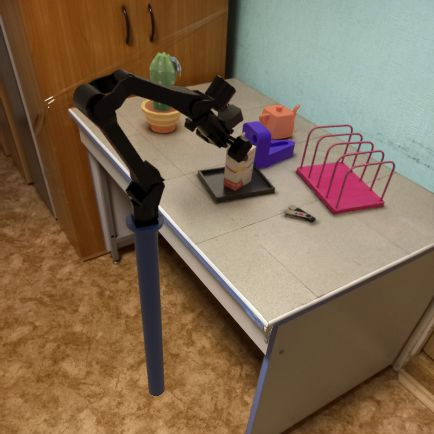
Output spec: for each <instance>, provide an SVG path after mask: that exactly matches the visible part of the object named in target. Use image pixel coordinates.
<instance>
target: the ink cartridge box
mask: <svg viewBox="0 0 434 434" xmlns="http://www.w3.org/2000/svg"><path fill="white" fill-rule="evenodd" d="M238 136H243V137H245V132H244V133H242V132H241V134H238V135H236V136H233V137H234V138H237V137H238ZM232 142H233V141H232ZM229 148H230V145H228V147H227V148H226V153H225V163H224V164H225V165H224V167H225V173H224V184H223V185H224V186H226V187H228V188H230V189H232V190H234V191H236V190H238V189H239V188H241V187H243V186H244V185H246V184H247V183H249V182H250V181H251V176H252V170H253V163H254V157H255V151H256V146H254V145H252V148H251V149H250V150H249V152H248V153H247V154H248V158H249V159H248V160H247V161H241V162H240V163H238V162H236V161H234V160H233V159H232V158H230V157H229V156H228V155H227V152H228V149H229Z"/></svg>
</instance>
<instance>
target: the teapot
mask: <svg viewBox="0 0 434 434" xmlns="http://www.w3.org/2000/svg"><path fill="white" fill-rule="evenodd" d="M301 107H302V104H297V105H295V106H294V107H293V109H292V110H291V109H289V108H288V107H286V106H284V105H283V104H273V105H267V106H264V107H263V109H262V111H261V114H259V116H258V121H259V122H260V123H261V124H262V125H263V126H265V127H266V128H267V129H268V130H269V131H270V133H271V140H283V139H286V138H290V137H292V136H293V134H294V132H295V131H294V130H295V119H296V115H297V111H298V110H299V108H301Z"/></svg>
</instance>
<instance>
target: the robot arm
mask: <svg viewBox="0 0 434 434" xmlns="http://www.w3.org/2000/svg"><path fill="white" fill-rule="evenodd" d="M236 93H237V90H236V88H235V87H234V86H233V85H231V84H230V83H229V82H228V81H226V80H225V79H224V77H223V76H221V75H219V74H216V75H214V77H213V79H212V82H211V83H210V84H209V86H208V87H207V88H206V90H205V92H203V91H201V90H199V89H190V88H188V87H186V86H180V85H174V86H171V87H170V86H165V85H162V84H160V83H157V82H154V81H151V80H150V78H146V77H143V76H141V75H137V74H135V73H132V72H130V71H128V70H126V69H124V68H118V69H115V70H113V71H112V72H110V73H108V74H105V75H102V76H99V77H96V78H93V79H92V80H90V81H88V82H87V83H81V84H80V85H78V86H77V87H75V89H74V91H73V94H72V103H73V105H74V107H75V108H76V109H77V110H78V111H79V112H80V113H81V114H82V115H83V116H84V117H85V118H87V119H88V120H89V121H90V122H91V123H92V124H93V125H95V127H97V128H98V130H100V132H101V134H102V135H103V136H104V137H105V139H106V140H107V142H108V143H109V145H110V146H111V147H112V149H113V151H115V153H116V154H117V155H118V157H119V159H120V160H121V161H122V162H123V164H124V165H125V167H126V168H127V170H128V171H129V172H128V173H129V178H130V179H131V181H130V183H129V184H128V185H127V187H126V188H125V194H126V195H127V197H129V198H130V209H131V212H132V213H131V218H132V220H133V222H134V225H135V227H136V228H140V227H146V226H151V225H157V224H159V221H158V218H159V213H160V211H159V209H160V208H159V206H160V204H161V200H162V197H163V194H164V191H165V188H166V184H165V181H166V179H165V178H164V177H163V176H162V175H161V172H160V170H159V169H158V168H157V167H155V165H153V164H152V163H151V162H149V161H148V160H147V159H144V160H143V159H142V157H141V155H140V154H139V153H138V151H137V150H136V148H135V147H134V145H133V144H132V142H131V140H130V139H129V137H128V136H127V134H126V132H124V130H123V129H122V127H121V125H120V124H119V122H118V115H117V111H118V110H119V109H120V108H121V107H122V106H123V104H124V103H125V102H126V101H127V99H128V98H129V97H130V96H131V95H133V96H136V97H139V98H142V99H145V100H147V99H148V100H151V101H155V102H158V103H161V104H164V105H167V106H170V107H172V108H173V109H175V110H177V111H178V112H180V113H182V114H181V115H184V116H185V119H184V125H183V127H184V128H185V129H187V130H188V131H189V132H191V133H194V132H195V135H196V136H197V137H198V138H199V139H201V140H202V141H204V142H206V143H207V144H210V145H213V146H215V147H217V148H218V149H221V148H223V149H227V147H228V145H230V148H229V149H228V152H227V151H226V152H227V155H228V156H229V157H230V158H232V159H233V160H234V161H236V162H238V163H240V162H241V161H247V160H248V159H249V158H248V154H247V153H248V152H249V150H250V149H251V148H252V143H251V142H250V141H249V140H248V139H246V138H245V137H243V136H238V135H237V136H238V137H237V138H234V137H235V136H232V135H233V134H234V132H235V130H234V128H236V126H238V125H239V124H240V123H242V122H243V121H244V120H245V119H244V114H243V112H242V108H240V107H238V106H237V105H235V104H230V101H231V99H233V97H234V96H235V94H236ZM214 111H215V112H217V114H216V113H215V112H214ZM232 141H233V142H232Z"/></svg>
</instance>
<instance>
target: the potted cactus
mask: <svg viewBox="0 0 434 434" xmlns="http://www.w3.org/2000/svg"><path fill="white" fill-rule="evenodd" d="M177 73H179V78H181V76H182V66H181V64H180V62H179V60H178V59H177V58H176V57H175V56H172V55H170V54H169V53H166V52H165V51H163V52H157V53H156V55H155V57H154V58H153V59H152V61H151V63H150V65H149V80H151V81H154V82H157V83H160V84H162V85H165V86H170V87H171V86H175V83H176V81H177ZM140 109H141V112H142V113H143V114H144V116H145V119H146V121H147V122H148V124H150V129H151V130H152V131H153V132H155V133H159V134H168V133H172V132H173V131H175V129H176V125H177V123H178V122H179V120H180V118H181V115H183V114H182V113H180V112H178V111H177V110H175V109H173V108H172V107H170V106H167V105H164V104H161V103H158V102H155V101H151V100H148V99H145V100H144V101H142V102H141V103H140Z"/></svg>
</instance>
